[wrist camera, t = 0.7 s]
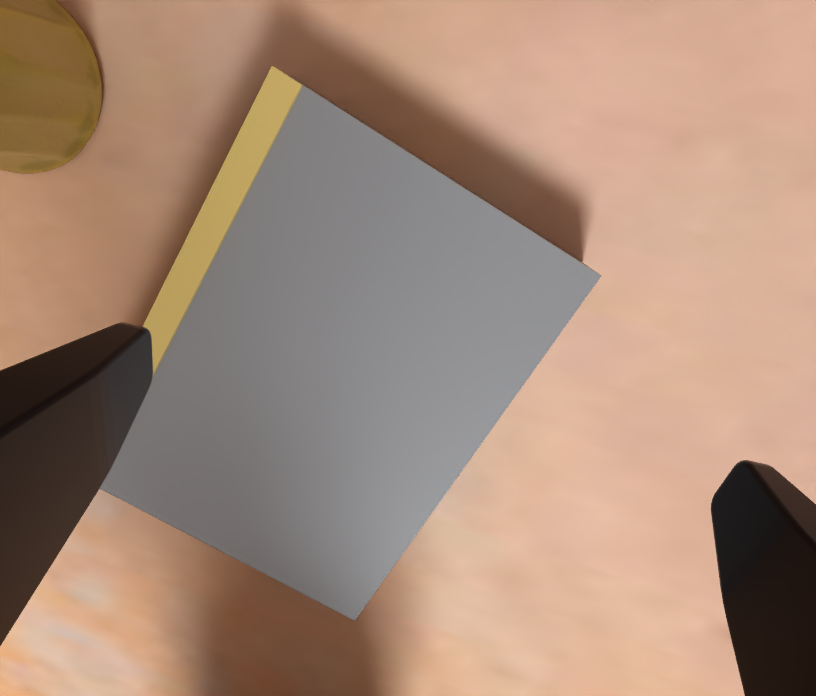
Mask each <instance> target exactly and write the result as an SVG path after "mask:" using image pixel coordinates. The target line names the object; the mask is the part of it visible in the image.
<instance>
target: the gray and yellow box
mask: <svg viewBox="0 0 816 696" xmlns="http://www.w3.org/2000/svg"><path fill="white" fill-rule="evenodd" d="M600 277H601V275H599V274H598V273H597V272H595V271H594V270H592V269H591V268H590V267H588V266H587V265H585V264H584V263H582V262H581V261H579V260H578V259H576V258H575V257H573V256H571V255H570V254H568V253H567V252H565V251H564V250H562V249H560V248H559V247H557V246H556V245H554V244H553V243H551V242H549V241H548V240H546V239H545V238H543V237H542V236H540V235H538V234H537V233H535V232H534V231H532V230H531V229H529V228H528V227H526V226H524V225H523V224H521V223H520V222H518V221H517V220H515V219H513V218H512V217H510V216H509V215H507V214H506V213H504V212H502V211H501V210H499V209H498V208H496V207H495V206H493V205H492V204H490V203H488V202H487V201H485V200H484V199H482V198H481V197H479V196H477V195H476V194H474V193H473V192H471V191H470V190H468V189H466V188H465V187H463V186H462V185H460V184H459V183H457V182H455V181H454V180H452V179H451V178H449V177H448V176H446V175H445V174H443V173H441V172H440V171H438V170H437V169H435V168H434V167H432V166H430V165H429V164H427V163H426V162H424V161H423V160H421V159H419V158H418V157H416V156H415V155H413V154H412V153H410V152H409V151H407V150H405V149H404V148H402V147H401V146H399V145H398V144H396V143H394V142H393V141H391V140H390V139H388V138H387V137H385V136H383V135H382V134H380V133H379V132H377V131H376V130H374V129H372V128H371V127H369V126H368V125H366V124H365V123H363V122H362V121H360V120H358V119H357V118H355V117H354V116H352V115H351V114H349V113H347V112H346V111H344V110H343V109H341V108H340V107H338V106H336V105H335V104H333V103H332V102H330V101H329V100H327V99H326V98H324V97H322V96H321V95H319V94H318V93H316V92H315V91H313V90H311V89H310V88H308V87H307V86H305V85H304V84H302V83H300V82H299V81H297V80H296V79H294V78H293V77H291V76H289V75H288V74H286V73H284V72H282V71H280V70H279V69H277V68H275V67H273V66H272V67H271V69H270V71H269V73H268V75H267V77H266V79H265V81H264V83H263V85H262V87H261V89H260V91H259V93H258V95H257V97H256V99H255V101H254V103H253V105H252V107H251V109H250V111H249V113H248V115H247V117H246V119H245V121H244V123H243V125H242V127H241V129H240V131H239V133H238V135H237V137H236V139H235V141H234V143H233V145H232V147H231V149H230V151H229V153H228V155H227V157H226V159H225V161H224V163H223V165H222V167H221V169H220V171H219V173H218V175H217V177H216V179H215V181H214V183H213V185H212V187H211V189H210V191H209V193H208V196H207V198H206V200H205V202H204V204H203V206H202V208H201V210H200V212H199V214H198V216H197V218H196V220H195V222H194V224H193V226H192V228H191V230H190V232H189V234H188V236H187V238H186V240H185V242H184V244H183V246H182V248H181V250H180V252H179V254H178V256H177V258H176V260H175V262H174V264H173V266H172V268H171V270H170V272H169V274H168V276H167V278H166V280H165V282H164V284H163V286H162V288H161V290H160V292H159V294H158V296H157V298H156V300H155V302H154V304H153V306H152V308H151V310H150V312H149V314H148V316H147V318H146V320H145V322H144V324H143V326H142V327H145V328H147V329H148V330H149V331H150V333H151V337H152V358H153V378H152V382H151V385H150V388H149V390H148V392H147V394H146V396H145V399H144V401H143V403H142V405H141V407H140V409H139V411H138V413H137V415H136V418H135V420H134V422H133V424H132V426H131V428H130V430H129V432H128V434H127V437H126V439H125V441H124V443H123V445H122V447H121V449H120V451H119V454H118V456H117V458H116V460H115V462H114V464H113V466H112V468H111V470H110V472H109V473H108V475H107V477H106V478H105V480H104V482H103V483H102V485H101V487H100V489H102V490H104V491H106V492H108V493H109V494H111V495H113V496H115V497H117V498H119V499H121V500H123V501H125V502H127V503H129V504H131V505H133V506H135V507H136V508H138V509H140V510H142V511H144V512H146V513H148V514H150V515H152V516H154V517H156V518H158V519H160V520H161V521H163V522H165V523H167V524H169V525H171V526H173V527H175V528H177V529H179V530H181V531H183V532H185V533H187V534H188V535H190V536H192V537H194V538H196V539H198V540H200V541H202V542H204V543H206V544H208V545H210V546H212V547H213V548H215V549H217V550H219V551H221V552H223V553H225V554H227V555H229V556H231V557H233V558H235V559H237V560H239V561H240V562H242V563H244V564H246V565H248V566H250V567H252V568H254V569H256V570H258V571H260V572H262V573H264V574H266V575H267V576H269V577H271V578H273V579H275V580H277V581H279V582H281V583H283V584H285V585H287V586H289V587H291V588H292V589H294V590H296V591H298V592H300V593H302V594H304V595H306V596H308V597H310V598H312V599H314V600H316V601H318V602H319V603H321V604H323V605H325V606H327V607H329V608H331V609H333V610H335V611H337V612H339V613H341V614H343V615H344V616H346V617H348V618H350V619H352V620H354V621H355V620H356V618H357V617H358V615H359V614H360V613H361V611H362V610H363V608H364V607H365V606H366V604H367V603H368V601H369V600H370V599H371V597H372V596H373V594H374V593H375V592H376V590H377V589H378V587H379V586H380V585H381V583H382V582H383V580H384V579H385V578H386V576H387V575H388V573H389V572H390V571H391V569H392V568H393V566H394V565H395V564H396V562H397V561H398V559H399V558H400V557H401V555H402V554H403V552H404V551H405V550H406V548H407V547H408V545H409V544H410V543H411V541H412V540H413V538H414V537H415V536H416V534H417V533H418V531H419V530H420V529H421V527H422V526H423V525H424V523H425V522H426V520H427V519H428V518H429V516H430V515H431V513H432V512H433V511H434V509H435V508H436V506H437V505H438V504H439V502H440V501H441V499H442V498H443V497H444V495H445V494H446V492H447V491H448V490H449V488H450V487H451V485H452V484H453V483H454V481H455V480H456V478H457V477H458V476H459V474H460V473H461V471H462V470H463V469H464V467H465V466H466V464H467V463H468V462H469V460H470V459H471V457H472V456H473V455H474V453H475V452H476V450H477V449H478V448H479V446H480V445H481V443H482V442H483V441H484V439H485V438H486V436H487V435H488V434H489V432H490V431H491V429H492V428H493V427H494V425H495V424H496V422H497V421H498V420H499V418H500V417H501V415H502V414H503V413H504V411H505V410H506V408H507V407H508V406H509V404H510V403H511V401H512V400H513V399H514V397H515V396H516V394H517V393H518V392H519V390H520V389H521V387H522V386H523V385H524V383H525V382H526V380H527V379H528V378H529V376H530V375H531V374H532V372H533V371H534V369H535V368H536V367H537V365H538V364H539V362H540V361H541V360H542V358H543V357H544V355H545V354H546V353H547V351H548V350H549V348H550V347H551V346H552V344H553V343H554V341H555V340H556V339H557V337H558V336H559V334H560V333H561V332H562V330H563V329H564V327H565V326H566V325H567V323H568V322H569V320H570V319H571V318H572V316H573V315H574V313H575V312H576V311H577V309H578V308H579V306H580V305H581V304H582V302H583V301H584V299H585V298H586V297H587V295H588V294H589V292H590V291H591V290H592V288H593V287H594V285H595V284H596V283H597V281H598V280H599V278H600Z"/></svg>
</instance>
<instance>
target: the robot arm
mask: <svg viewBox="0 0 816 696" xmlns="http://www.w3.org/2000/svg"><path fill="white" fill-rule="evenodd" d="M152 378H153V358H152V337H151V333H150V331H149V330H148V329H147V328H145V327H141V326H137V325H132V324H128V323H118V324H115V325H112V326H110V327H107V328H105V329H102V330H100V331H97V332H95V333H92V334H90V335H87V336H85V337H83V338H80V339H78V340H75V341H73V342H70V343H68V344H65V345H63V346H60V347H58V348H55V349H53V350H50V351H48V352H45V353H43V354H40V355H38V356H35V357H33V358H30V359H28V360H25V361H23V362H20V363H18V364H16V365H13V366H11V367H8V368H6V369H3V370H1V371H0V646H1V644H2V642H3V641H4V639H5V638H6V636H7V635H8V633H9V631H10V630H11V628H12V627H13V625H14V623H15V622H16V620H17V619H18V617H19V615H20V614H21V612H22V611H23V609H24V608H25V606H26V604H27V603H28V601H29V600H30V598H31V596H32V595H33V593H34V592H35V590H36V588H37V587H38V585H39V584H40V582H41V581H42V579H43V577H44V576H45V574H46V573H47V571H48V569H49V568H50V566H51V565H52V563H53V561H54V560H55V558H56V557H57V555H58V554H59V552H60V550H61V549H62V547H63V546H64V544H65V542H66V541H67V539H68V538H69V536H70V534H71V533H72V531H73V530H74V528H75V527H76V525H77V523H78V522H79V520H80V519H81V517H82V515H83V514H84V512H85V511H86V509H87V507H88V506H89V504H90V503H91V501H92V500H93V498H94V496H95V495H96V493H97V492H98V490H99V488H100V487H101V485H102V483H103V482H104V480H105V478H106V477H107V475H108V473H109V472H110V470H111V468H112V466H113V464H114V462H115V460H116V458H117V456H118V454H119V451H120V449H121V447H122V445H123V443H124V441H125V439H126V437H127V434H128V432H129V430H130V428H131V426H132V424H133V422H134V420H135V418H136V415H137V413H138V411H139V409H140V407H141V405H142V403H143V401H144V399H145V396H146V394H147V392H148V390H149V388H150V385H151V382H152ZM711 515H712V523H713V530H714V538H715V546H716V554H717V562H718V570H719V578H720V586H721V592H722V599H723V604H724V609H725V614H726V618H727V623H728V627H729V631H730V635H731V639H732V644H733V648H734V652H735V656H736V660H737V665H738V669H739V673H740V677H741V681H742V685H743V690H744V694H745V696H816V504H815V503H814V502H812V501H811V500H810V499H809V498H808V497H807V496H805V495H804V494H803V493H802V492H801V491H800V490H798V489H797V488H796V487H795V486H794V485H793V484H791V483H790V482H789V481H788V480H787V479H786V478H785V477H783V476H782V475H781V474H780V473H779V472H778V471H776V470H775V469H774V468H773V467H771V466H769V465H766V464H762V463H758V462H753V461H748V460H743V461H740V462H739V463H737V464H736V465H735V466H734V468H733V469H732V470H731V472H730V473H729V475H728V476H727V477H726V479H725V480H724V482H723V483H722V484H721V486H720V487H719V489H718V490H717V491H716V493H715V494H714V497H713V499H712V503H711Z"/></svg>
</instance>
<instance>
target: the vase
mask: <svg viewBox="0 0 816 696" xmlns="http://www.w3.org/2000/svg"><path fill="white" fill-rule="evenodd" d="M101 101H102V83H101V77H100V71H99V67H98V63H97V60H96V57H95V54H94V52H93V49H92V47H91V45H90V43H89V41H88V39H87V37H86V36H85V34H84V32H83V31H82V30H81V28H80V27H79V25H78V24H77V23H76V22H75V20H74V19H73V18H72V17H71V16H70V15H69V13H68V12H67V11H66V10H65V9H64V8H63V7H62V6H61V5H60V4H59V3H58V2H57V1H56V0H0V170H4V171H9V172H15V173H24V174H32V173H40V172H46V171H49V170H52V169H55V168H57V167H59V166H61V165H63V164H65V163H67V162H69V161H70V160H72V159H73V158H74V157H75V156H76V155H77V154H78V153H79V152H80V151H81V149H82V148H83V147H84V146H85V144H86V143H87V141H88V140H89V139H90V137H91V135H92V133H93V131H94V130H95V127H96V125H97V122H98V119H99V114H100V109H101Z"/></svg>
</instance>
